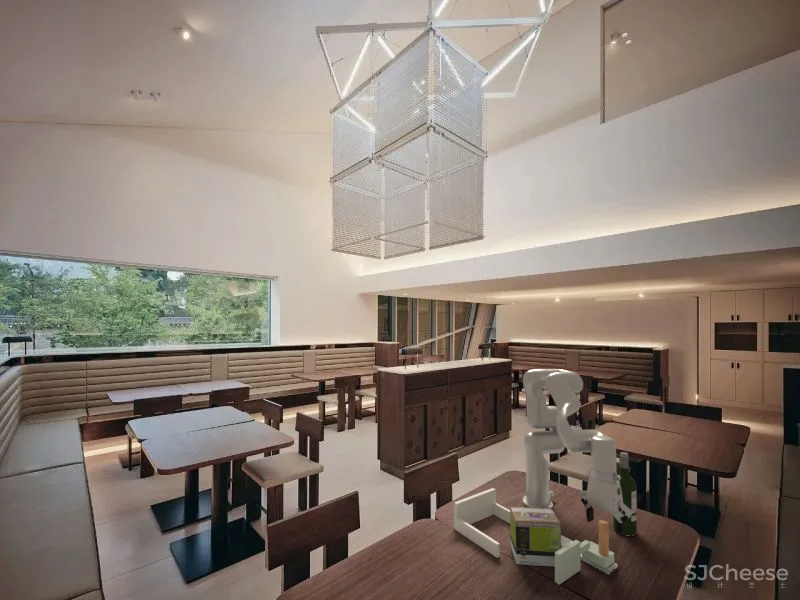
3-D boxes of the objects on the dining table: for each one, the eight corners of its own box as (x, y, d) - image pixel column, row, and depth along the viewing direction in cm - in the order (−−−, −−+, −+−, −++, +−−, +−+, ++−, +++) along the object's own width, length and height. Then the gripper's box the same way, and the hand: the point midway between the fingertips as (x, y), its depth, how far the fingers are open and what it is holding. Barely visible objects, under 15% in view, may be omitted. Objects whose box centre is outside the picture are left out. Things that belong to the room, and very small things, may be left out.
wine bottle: (640, 538, 144) (639, 457, 145) (617, 535, 145) (616, 456, 146) (632, 527, 151) (631, 450, 152) (610, 524, 153) (609, 448, 154)
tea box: (552, 550, 136) (552, 507, 137) (562, 568, 126) (561, 523, 127) (509, 546, 138) (509, 505, 138) (515, 565, 128) (515, 520, 128)
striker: (590, 552, 134) (590, 512, 134) (614, 564, 127) (614, 522, 128) (550, 579, 120) (550, 534, 121) (574, 594, 114) (574, 546, 114)
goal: (492, 512, 162) (492, 488, 162) (536, 536, 144) (536, 509, 144) (453, 528, 149) (454, 502, 149) (497, 557, 131) (497, 528, 131)
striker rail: (517, 515, 159) (517, 512, 159) (617, 568, 127) (617, 564, 127) (508, 519, 156) (508, 516, 156) (608, 575, 123) (608, 571, 123)
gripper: (636, 480, 123) (638, 535, 122) (584, 464, 137) (585, 513, 137) (625, 486, 119) (626, 543, 118) (573, 468, 133) (573, 519, 132)
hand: (604, 526), depth 127 cm, fingers open, 9 cm apart
